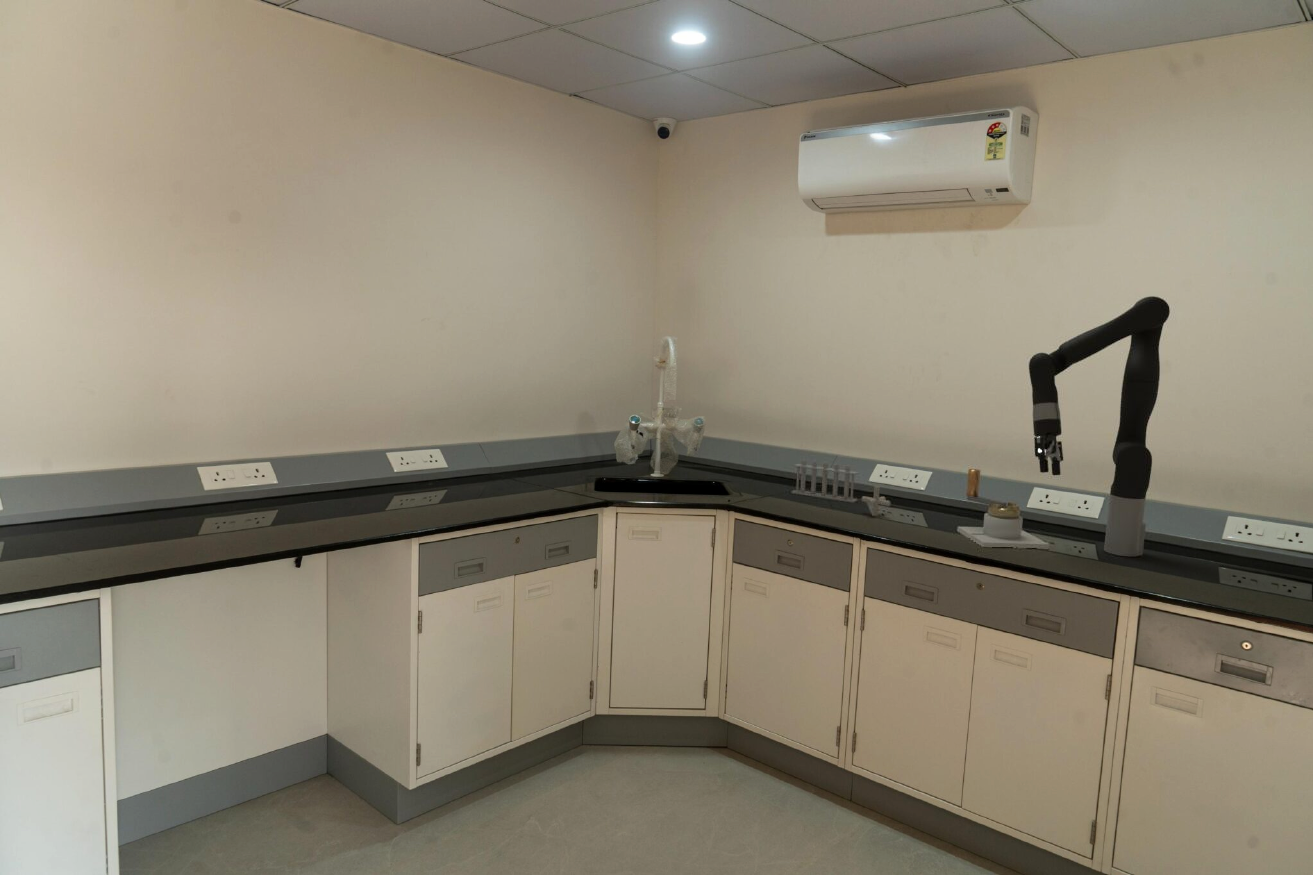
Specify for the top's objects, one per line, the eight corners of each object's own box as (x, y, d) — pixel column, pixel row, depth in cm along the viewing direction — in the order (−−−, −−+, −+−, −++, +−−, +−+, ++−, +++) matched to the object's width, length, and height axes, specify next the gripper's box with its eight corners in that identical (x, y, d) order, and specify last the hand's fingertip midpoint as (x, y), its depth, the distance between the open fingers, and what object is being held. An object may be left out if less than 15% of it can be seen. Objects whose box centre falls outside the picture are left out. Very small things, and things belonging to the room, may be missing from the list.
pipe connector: (895, 515, 293) (897, 487, 292) (881, 519, 286) (883, 490, 284) (869, 510, 300) (871, 482, 298) (854, 514, 292) (856, 486, 291)
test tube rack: (857, 501, 317) (859, 466, 315) (852, 503, 313) (855, 467, 311) (796, 491, 331) (798, 458, 329) (791, 493, 327) (793, 459, 326)
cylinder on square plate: (1018, 532, 274) (1020, 510, 273) (1048, 549, 254) (1051, 524, 253) (957, 531, 274) (959, 508, 273) (982, 547, 254) (984, 522, 253)
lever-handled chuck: (1025, 516, 262) (1029, 477, 260) (1007, 519, 257) (1010, 479, 255) (975, 505, 277) (979, 468, 275) (957, 507, 272) (960, 469, 271)
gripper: (1049, 414, 247) (1053, 470, 244) (1069, 421, 256) (1073, 474, 253) (1023, 418, 252) (1027, 472, 249) (1044, 424, 262) (1047, 477, 259)
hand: (1050, 473), depth 251 cm, fingers open, 8 cm apart
